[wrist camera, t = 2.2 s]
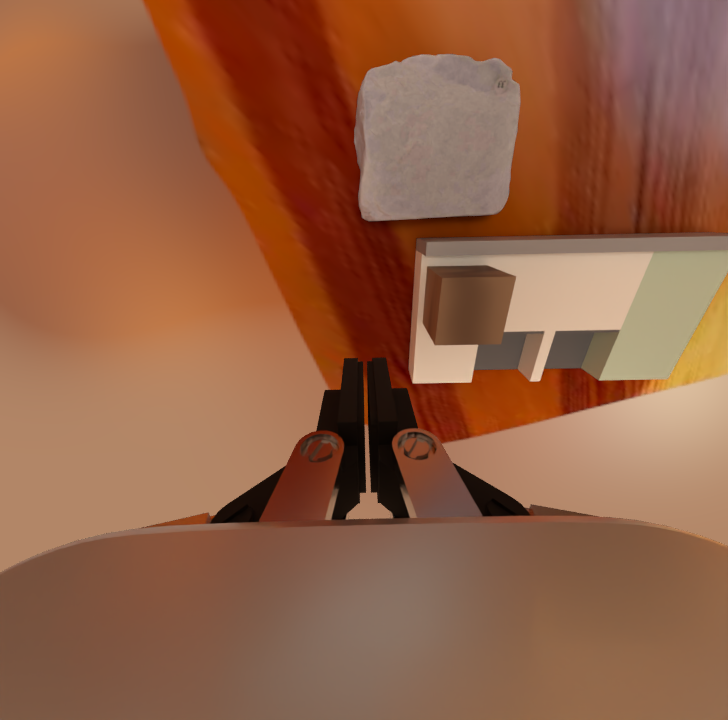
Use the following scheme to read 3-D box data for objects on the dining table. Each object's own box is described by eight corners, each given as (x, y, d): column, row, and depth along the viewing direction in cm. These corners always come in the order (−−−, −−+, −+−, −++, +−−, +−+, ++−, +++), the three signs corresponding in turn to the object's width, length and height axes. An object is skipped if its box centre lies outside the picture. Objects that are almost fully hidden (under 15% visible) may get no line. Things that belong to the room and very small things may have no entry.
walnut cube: (486, 265, 23) (516, 276, 19) (476, 322, 25) (500, 344, 21) (427, 266, 23) (442, 277, 19) (422, 323, 26) (434, 345, 21)
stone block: (350, 96, 22) (359, 232, 25) (348, 46, 17) (359, 220, 20) (498, 85, 22) (491, 222, 25) (536, 33, 18) (522, 208, 20)
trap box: (707, 232, 25) (773, 235, 21) (641, 365, 31) (682, 387, 27) (416, 238, 25) (426, 242, 21) (408, 369, 31) (415, 391, 27)
